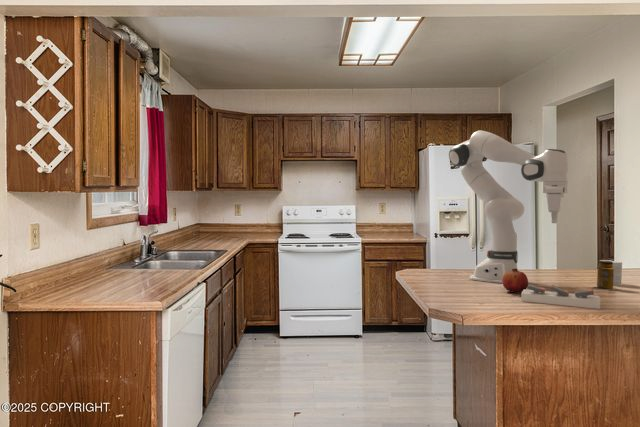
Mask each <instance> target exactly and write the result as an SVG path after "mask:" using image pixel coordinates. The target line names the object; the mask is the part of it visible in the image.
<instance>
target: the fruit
mask: <svg viewBox="0 0 640 427" xmlns="http://www.w3.org/2000/svg"><path fill="white" fill-rule="evenodd" d="M502 282H503V283H502V286H503V288H504V289H505V290H506V291H508V292H511V293H514V294H516V293H522V291H523V290H524V289H526V290H528V289H527V288H528V285H529V279H528V277H527V275H526V274H525V273H524V272H523V271H519V270H518V268H517V269H512V271H509V272H506V273H505V274H504V276H503V278H502Z"/></svg>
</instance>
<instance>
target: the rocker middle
mask: <svg viewBox="0 0 640 427" xmlns="http://www.w3.org/2000/svg"><path fill="white" fill-rule="evenodd" d="M550 287H551V288H550V290H551V292H557V293H560V294H562V295H565V296H567V297H568V295H569V293H570V291H568V290H567V289H563V288H561V287H558V286H557V285H556V286H555V285H551V286H550Z"/></svg>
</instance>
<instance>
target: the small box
mask: <svg viewBox="0 0 640 427" xmlns="http://www.w3.org/2000/svg"><path fill="white" fill-rule="evenodd" d="M599 261H612V262H613V268H614V275H613V277H614V278H613V287H614V286H615V287H617V286H622V278H623V277H622V276H623V262H619V261H614V260H610V259H609V260H608V259H600V260H599ZM599 261H598V262H599Z"/></svg>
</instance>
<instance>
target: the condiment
mask: <svg viewBox="0 0 640 427" xmlns="http://www.w3.org/2000/svg"><path fill="white" fill-rule="evenodd" d="M612 261H613V260H611V261H598V266H597V278H596V279H597V280H596V286H591V287H590V288H591V289H593V290H600V291H606V292H607V291H613V290H617V288H616V287H614V286H613V278H614V277H613V275H614V268H613V262H612Z"/></svg>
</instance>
